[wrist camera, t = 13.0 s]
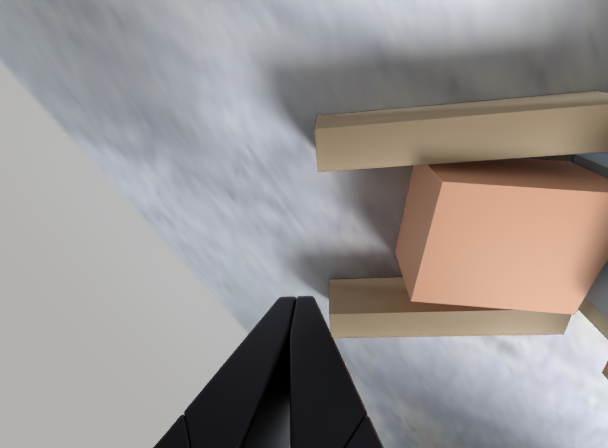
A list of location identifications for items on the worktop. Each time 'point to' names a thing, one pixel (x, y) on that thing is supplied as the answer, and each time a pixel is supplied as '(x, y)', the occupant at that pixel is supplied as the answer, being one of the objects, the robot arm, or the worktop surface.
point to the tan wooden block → (606, 371)
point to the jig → (449, 149)
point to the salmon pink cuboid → (504, 234)
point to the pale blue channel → (604, 290)
